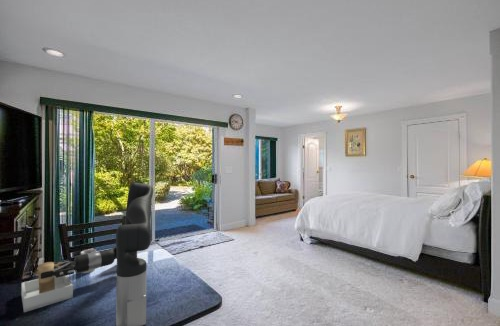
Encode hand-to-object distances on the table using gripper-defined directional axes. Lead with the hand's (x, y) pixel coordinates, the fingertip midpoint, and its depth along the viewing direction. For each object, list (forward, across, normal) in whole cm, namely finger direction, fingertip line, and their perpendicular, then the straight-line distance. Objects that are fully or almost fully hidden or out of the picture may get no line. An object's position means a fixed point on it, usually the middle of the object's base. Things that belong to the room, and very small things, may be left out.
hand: (39, 273), depth 98 cm
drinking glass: (-20, -17, +10) cm, 28 cm away
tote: (-2, 0, +10) cm, 10 cm away
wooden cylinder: (-2, 0, +9) cm, 9 cm away
